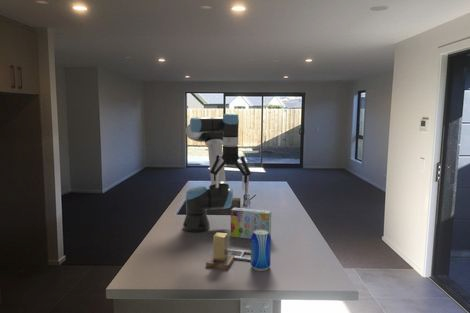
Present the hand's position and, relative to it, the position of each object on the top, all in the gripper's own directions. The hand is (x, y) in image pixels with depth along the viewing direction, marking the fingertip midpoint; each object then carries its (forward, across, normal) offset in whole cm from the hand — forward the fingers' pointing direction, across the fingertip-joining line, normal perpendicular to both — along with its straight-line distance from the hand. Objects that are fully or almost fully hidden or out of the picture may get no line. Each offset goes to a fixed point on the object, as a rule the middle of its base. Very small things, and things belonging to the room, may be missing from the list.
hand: (230, 188), depth 174 cm
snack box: (+29, +8, +12) cm, 32 cm away
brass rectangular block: (+27, +2, -23) cm, 35 cm away
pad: (+29, +2, -23) cm, 37 cm away
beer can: (+29, +20, -22) cm, 41 cm away
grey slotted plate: (+29, +9, -13) cm, 33 cm away
